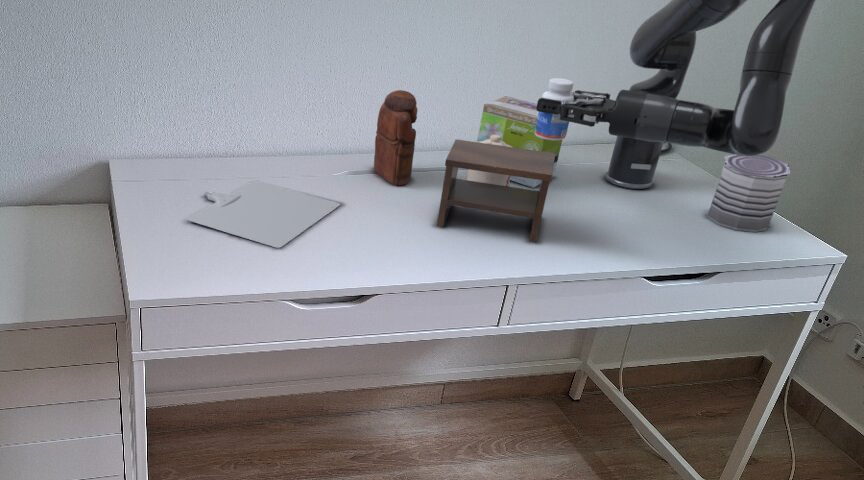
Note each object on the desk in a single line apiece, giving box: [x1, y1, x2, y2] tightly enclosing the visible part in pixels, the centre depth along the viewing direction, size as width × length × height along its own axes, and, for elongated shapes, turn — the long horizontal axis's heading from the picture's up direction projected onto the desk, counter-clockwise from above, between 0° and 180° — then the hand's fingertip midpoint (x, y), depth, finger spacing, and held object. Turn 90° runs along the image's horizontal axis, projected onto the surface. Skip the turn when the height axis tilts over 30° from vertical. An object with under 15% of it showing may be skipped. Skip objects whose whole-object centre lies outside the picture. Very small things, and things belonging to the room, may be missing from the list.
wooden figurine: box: [373, 89, 418, 186], centre depth 179 cm, size 12×6×18 cm, turn 21°
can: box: [707, 154, 791, 233], centre depth 167 cm, size 11×11×12 cm
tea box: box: [476, 95, 563, 189], centre depth 184 cm, size 15×10×15 cm
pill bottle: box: [535, 77, 574, 141], centre depth 151 cm, size 6×5×10 cm
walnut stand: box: [436, 138, 555, 243], centre depth 160 cm, size 13×18×13 cm
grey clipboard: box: [186, 180, 341, 249], centre depth 163 cm, size 25×24×1 cm
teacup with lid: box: [465, 135, 512, 187], centre depth 176 cm, size 12×9×12 cm
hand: (541, 100), depth 151 cm, fingers closed on pill bottle, 5 cm apart
